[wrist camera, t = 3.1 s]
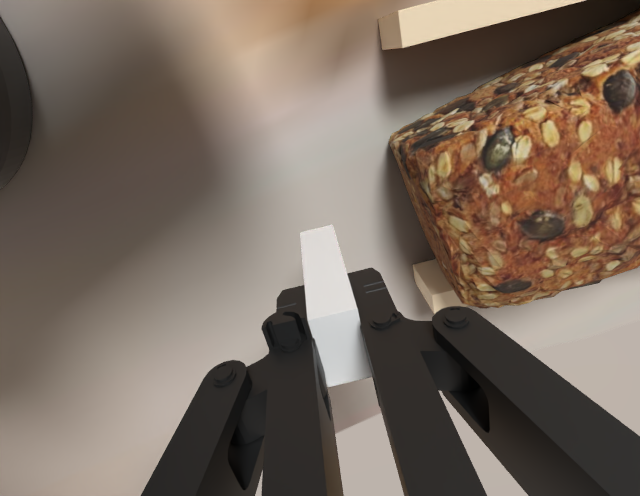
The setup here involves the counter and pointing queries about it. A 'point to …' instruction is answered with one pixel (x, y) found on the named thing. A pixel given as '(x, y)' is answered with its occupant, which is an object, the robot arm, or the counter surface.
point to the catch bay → (433, 23)
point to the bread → (534, 173)
